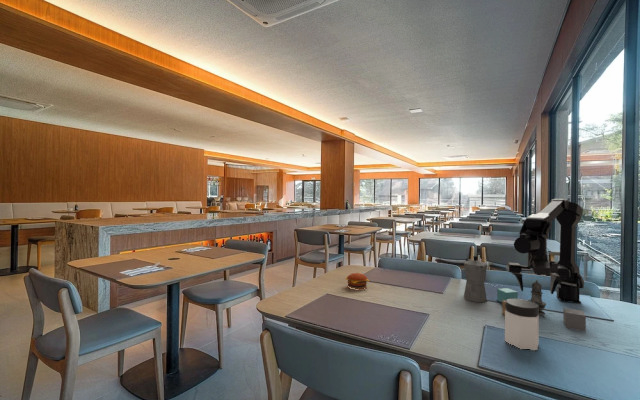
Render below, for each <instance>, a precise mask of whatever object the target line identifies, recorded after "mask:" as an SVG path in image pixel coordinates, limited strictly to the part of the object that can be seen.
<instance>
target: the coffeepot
mask: <svg viewBox="0 0 640 400" xmlns="http://www.w3.org/2000/svg"><path fill="white" fill-rule="evenodd" d="M463 266H464V273H465V279H466V280H465V281H466V282H465V286H464V292H463V298H464V299H465V300H467V301H470V302H475V303H485V302H487V301H488V299H487V292H486V286H485V280H486V276H487V270H488V263H487V262H483V261H481V260H478V256H476V255H474V256H473V259H471V258H469V257H468V258H465V261H464V260H463Z"/></svg>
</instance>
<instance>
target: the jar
mask: <svg viewBox="0 0 640 400" xmlns="http://www.w3.org/2000/svg"><path fill="white" fill-rule="evenodd" d="M528 300H529V299H522V298H518V299H507V300H506V303H505V306H506V310H505V315H504V342H505V341H506V342H508V343H509V344H508V343H507V344H508V345H510V344H511V345H510V346H512V345H514V346H516V347H518V348H520V349H519V350H522V349H532V350H531V351H535V350H537V351H538V347H539V344H540V343H539V342H540V341H539V340H540V338H539V337H540V335H539V334H540V329H539V328H540V315H539V306H538V305H537V304H536V303H534V302H531V301H528ZM506 342H505V343H506ZM514 346H513V347H514ZM516 347H515V348H516ZM518 348H517V349H518Z"/></svg>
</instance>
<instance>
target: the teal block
mask: <svg viewBox="0 0 640 400" xmlns="http://www.w3.org/2000/svg"><path fill="white" fill-rule="evenodd" d="M496 291H497V294H496V296H497V297H496V301H497V300H498V302H499V303H501V304H502V300H507V299H519V298H518V297H519V295H518V294H519V293H518V291H516V290H514V289H511V288H510V287H505V288H497V289H496Z"/></svg>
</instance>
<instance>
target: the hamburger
mask: <svg viewBox="0 0 640 400" xmlns="http://www.w3.org/2000/svg"><path fill="white" fill-rule="evenodd" d="M344 280H347V287H348V286H349V287H351V288H355V289H364V288H366V287H368V285H367V284H368V282H370V280H369V279H368V276H366V275H365V274H363V273H359V272H354V273H351V274H349V275H348V276H347V277H345V278H344ZM366 289H367V288H366ZM364 290H365V289H364Z"/></svg>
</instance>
